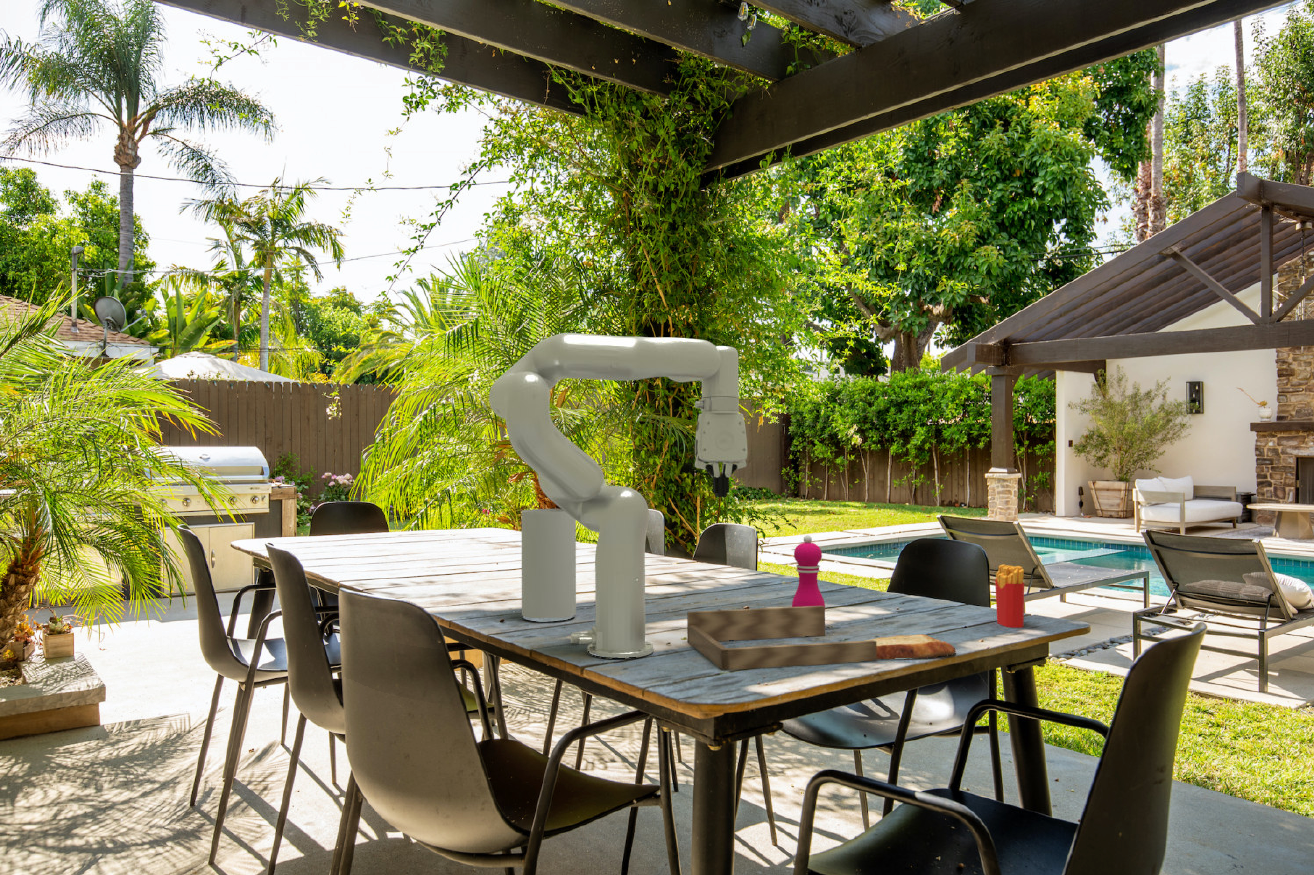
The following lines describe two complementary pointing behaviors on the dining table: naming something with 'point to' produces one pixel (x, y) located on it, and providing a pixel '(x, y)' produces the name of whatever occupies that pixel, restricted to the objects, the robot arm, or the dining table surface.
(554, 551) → the cylinder vase
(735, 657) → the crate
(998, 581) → the french fries
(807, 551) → the pepper mill
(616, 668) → the dining table surface
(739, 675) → the dining table surface
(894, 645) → the bread slice
